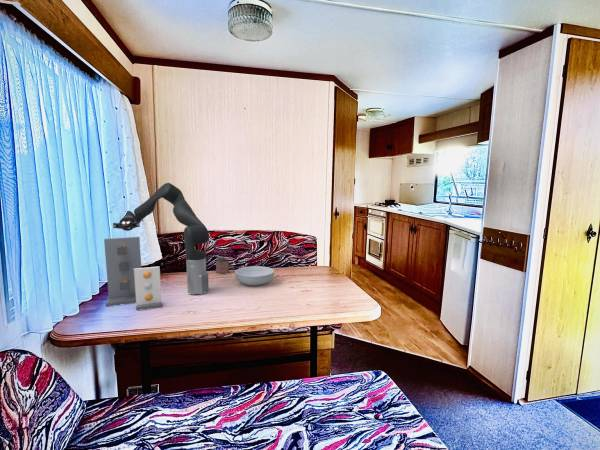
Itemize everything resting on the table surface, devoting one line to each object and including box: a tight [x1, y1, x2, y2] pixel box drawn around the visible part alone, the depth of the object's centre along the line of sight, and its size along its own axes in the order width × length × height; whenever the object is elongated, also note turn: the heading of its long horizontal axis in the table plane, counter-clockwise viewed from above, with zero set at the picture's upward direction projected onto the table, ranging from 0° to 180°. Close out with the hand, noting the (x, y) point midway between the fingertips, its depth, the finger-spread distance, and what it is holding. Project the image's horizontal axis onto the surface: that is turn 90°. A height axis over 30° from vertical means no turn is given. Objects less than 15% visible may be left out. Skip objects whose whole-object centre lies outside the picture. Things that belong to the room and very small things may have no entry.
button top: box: [117, 246, 127, 255], centre depth 148 cm, size 9×4×4 cm, turn 23°
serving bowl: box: [234, 265, 275, 286], centre depth 176 cm, size 21×21×7 cm
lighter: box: [215, 256, 230, 275], centre depth 194 cm, size 8×3×10 cm, turn 84°
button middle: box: [119, 262, 128, 271], centre depth 152 cm, size 9×4×4 cm, turn 23°
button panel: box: [103, 236, 142, 307], centre depth 150 cm, size 14×15×29 cm
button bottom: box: [120, 280, 129, 290], centre depth 150 cm, size 9×4×4 cm, turn 23°
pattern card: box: [134, 266, 163, 311], centre depth 142 cm, size 6×10×18 cm, turn 113°
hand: (124, 227), depth 161 cm, fingers closed
